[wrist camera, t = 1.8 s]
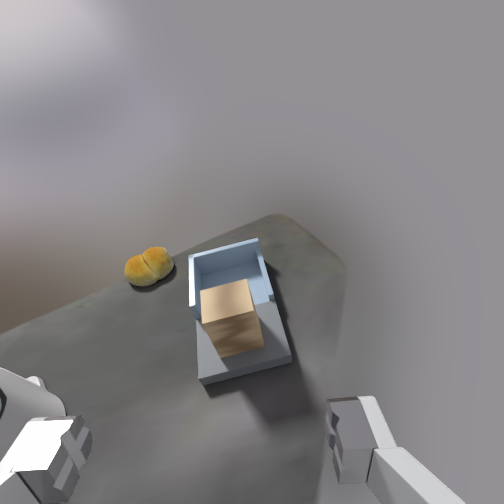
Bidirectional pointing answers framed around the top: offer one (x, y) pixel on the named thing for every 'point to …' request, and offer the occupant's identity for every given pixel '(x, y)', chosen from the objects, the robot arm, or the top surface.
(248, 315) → the oak block
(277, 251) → the top surface
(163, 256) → the bread roll
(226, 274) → the tray
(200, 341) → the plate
